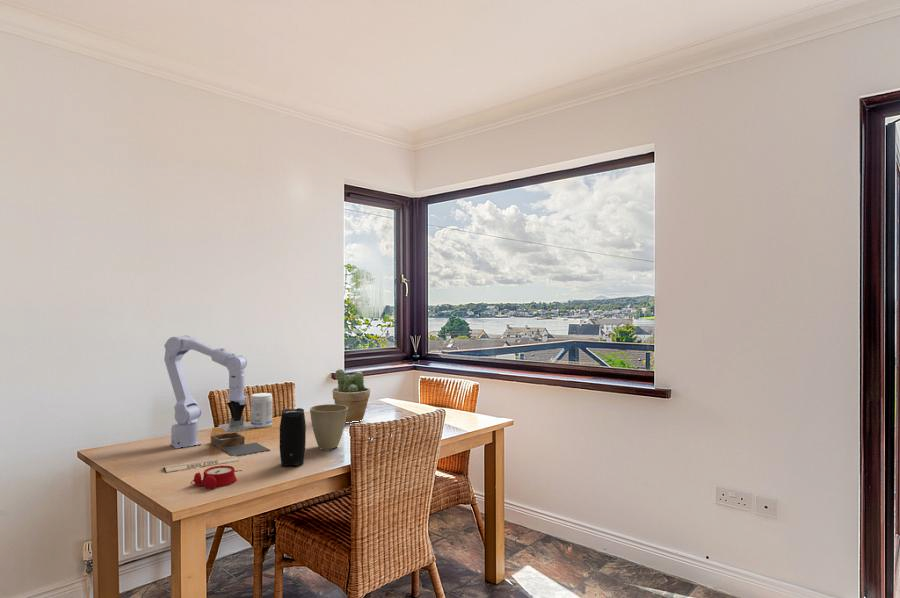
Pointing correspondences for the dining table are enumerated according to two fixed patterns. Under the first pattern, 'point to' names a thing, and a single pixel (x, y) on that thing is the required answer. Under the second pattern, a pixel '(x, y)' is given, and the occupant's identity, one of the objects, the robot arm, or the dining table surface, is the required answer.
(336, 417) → the plant pot
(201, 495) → the dining table surface
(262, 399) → the supplement tub
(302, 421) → the portable speaker
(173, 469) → the newspaper
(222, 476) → the alarm clock
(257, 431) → the dining table surface
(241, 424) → the lid
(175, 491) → the dining table surface
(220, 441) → the walnut box
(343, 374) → the potted plant
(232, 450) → the dark gray board
